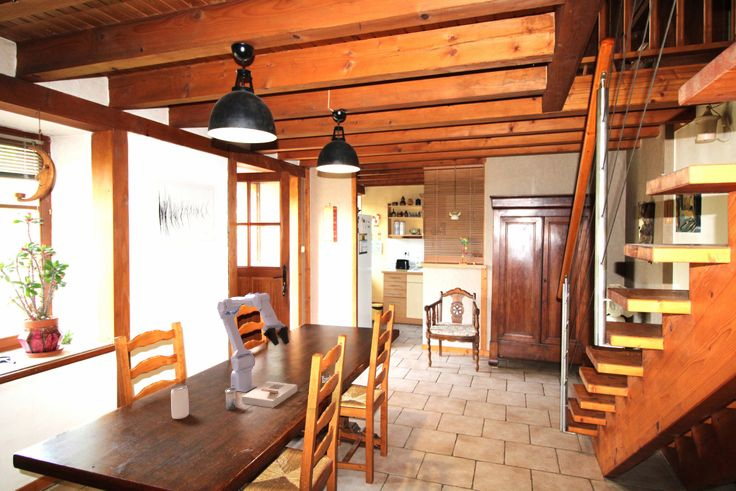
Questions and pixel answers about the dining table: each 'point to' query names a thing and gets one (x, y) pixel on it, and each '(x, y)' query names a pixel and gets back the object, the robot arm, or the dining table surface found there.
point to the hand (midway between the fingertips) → (282, 344)
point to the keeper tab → (269, 390)
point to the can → (179, 402)
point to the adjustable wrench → (325, 379)
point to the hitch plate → (269, 394)
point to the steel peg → (230, 398)
